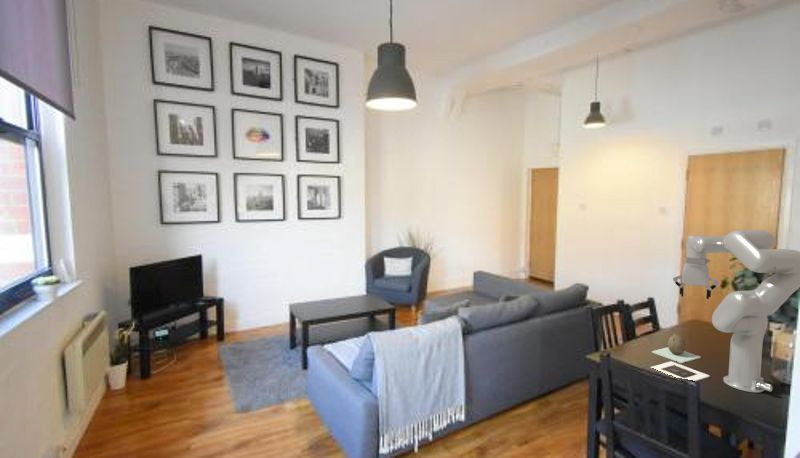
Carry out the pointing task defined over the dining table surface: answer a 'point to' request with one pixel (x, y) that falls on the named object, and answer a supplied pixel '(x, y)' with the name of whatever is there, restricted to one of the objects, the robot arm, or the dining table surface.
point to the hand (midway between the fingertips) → (694, 297)
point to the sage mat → (679, 358)
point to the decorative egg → (676, 344)
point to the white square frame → (670, 364)
